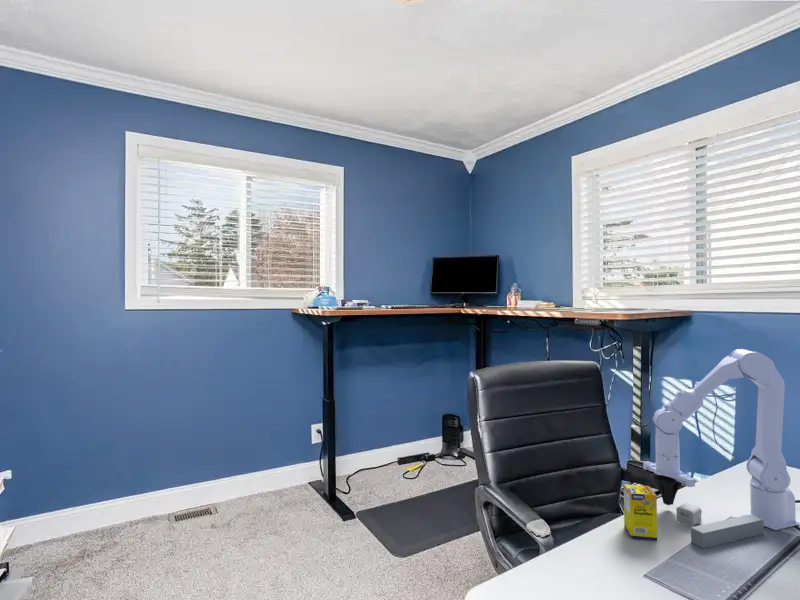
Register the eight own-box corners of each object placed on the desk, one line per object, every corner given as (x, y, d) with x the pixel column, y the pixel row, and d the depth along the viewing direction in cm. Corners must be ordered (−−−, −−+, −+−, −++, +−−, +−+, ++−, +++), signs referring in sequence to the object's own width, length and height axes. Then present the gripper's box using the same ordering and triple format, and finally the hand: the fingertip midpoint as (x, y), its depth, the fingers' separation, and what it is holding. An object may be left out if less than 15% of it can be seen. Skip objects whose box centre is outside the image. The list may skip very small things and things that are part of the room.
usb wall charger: (676, 522, 118) (676, 506, 118) (688, 514, 122) (688, 499, 122) (693, 528, 115) (693, 512, 115) (705, 520, 119) (705, 505, 119)
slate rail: (750, 528, 114) (750, 514, 114) (763, 534, 111) (763, 519, 111) (691, 542, 108) (690, 527, 108) (703, 548, 105) (702, 533, 105)
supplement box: (658, 541, 108) (657, 495, 109) (630, 539, 110) (630, 493, 110) (649, 529, 114) (648, 485, 114) (623, 527, 115) (623, 483, 116)
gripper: (634, 447, 131) (635, 495, 131) (680, 464, 117) (681, 517, 117) (653, 445, 133) (654, 492, 133) (700, 460, 119) (701, 513, 119)
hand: (668, 503), depth 125 cm, fingers closed
